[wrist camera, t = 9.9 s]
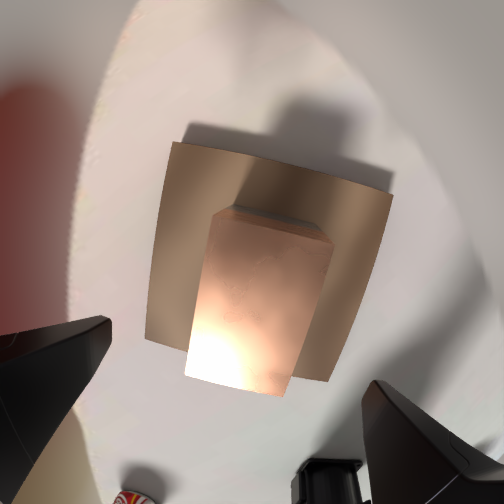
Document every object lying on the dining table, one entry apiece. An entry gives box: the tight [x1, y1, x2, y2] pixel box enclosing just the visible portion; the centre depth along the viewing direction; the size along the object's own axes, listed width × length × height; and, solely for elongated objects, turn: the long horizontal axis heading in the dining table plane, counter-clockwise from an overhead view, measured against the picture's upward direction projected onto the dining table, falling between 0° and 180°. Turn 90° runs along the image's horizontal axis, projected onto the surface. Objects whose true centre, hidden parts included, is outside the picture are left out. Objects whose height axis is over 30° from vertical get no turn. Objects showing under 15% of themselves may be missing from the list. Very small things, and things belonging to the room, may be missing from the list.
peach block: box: [185, 204, 335, 397], centre depth 15 cm, size 8×5×6 cm, turn 167°
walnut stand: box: [145, 142, 393, 382], centre depth 19 cm, size 14×14×2 cm
